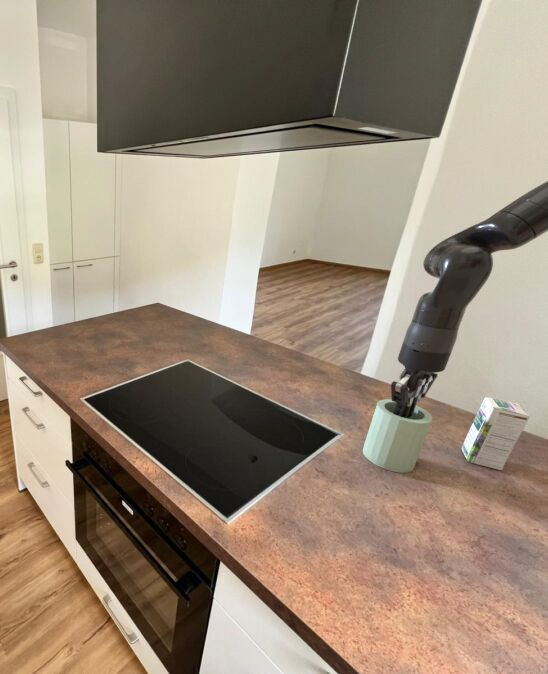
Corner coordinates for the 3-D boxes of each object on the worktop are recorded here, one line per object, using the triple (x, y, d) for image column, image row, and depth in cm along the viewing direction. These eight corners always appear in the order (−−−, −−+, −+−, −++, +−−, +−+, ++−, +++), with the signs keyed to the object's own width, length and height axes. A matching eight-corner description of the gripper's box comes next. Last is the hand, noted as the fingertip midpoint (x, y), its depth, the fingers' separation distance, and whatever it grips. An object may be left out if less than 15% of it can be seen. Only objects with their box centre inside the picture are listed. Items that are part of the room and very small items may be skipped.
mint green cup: (403, 449, 86) (420, 403, 81) (421, 477, 78) (441, 426, 73) (357, 442, 89) (371, 396, 84) (370, 467, 80) (386, 418, 76)
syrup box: (459, 448, 86) (482, 395, 81) (494, 456, 83) (520, 402, 78) (467, 462, 82) (491, 407, 76) (503, 471, 79) (532, 415, 73)
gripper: (423, 332, 79) (399, 401, 85) (387, 344, 73) (365, 416, 79) (467, 344, 72) (438, 417, 79) (432, 357, 67) (404, 435, 73)
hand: (401, 416), depth 79 cm, fingers closed
